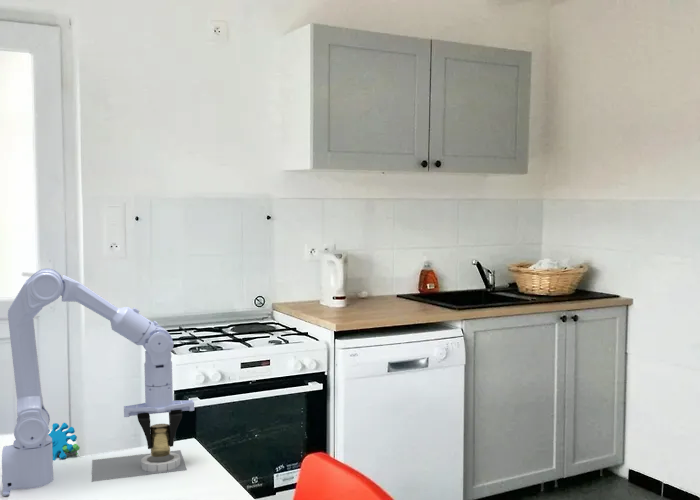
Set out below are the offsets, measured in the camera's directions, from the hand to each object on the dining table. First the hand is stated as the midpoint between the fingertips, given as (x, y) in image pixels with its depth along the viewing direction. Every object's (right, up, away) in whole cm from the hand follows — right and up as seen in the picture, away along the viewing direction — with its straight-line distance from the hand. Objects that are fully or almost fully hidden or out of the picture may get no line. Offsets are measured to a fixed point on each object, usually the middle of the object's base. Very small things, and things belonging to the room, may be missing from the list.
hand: (160, 446), depth 158 cm
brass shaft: (0, -2, 0) cm, 2 cm away
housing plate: (-5, -5, +1) cm, 7 cm away
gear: (-25, -5, +8) cm, 27 cm away
